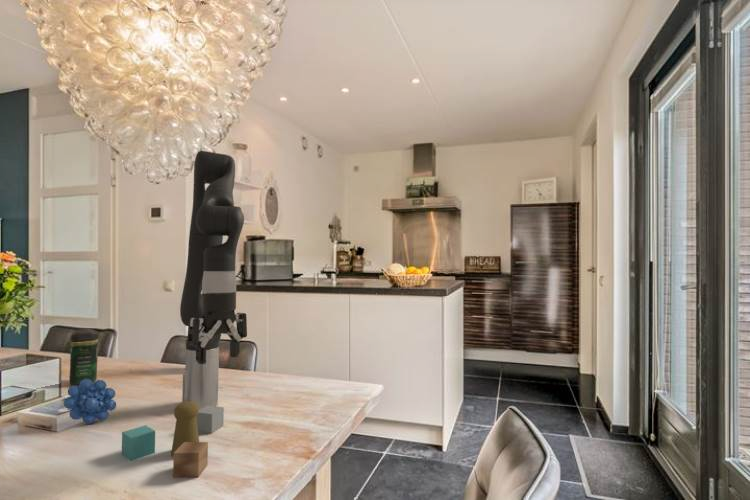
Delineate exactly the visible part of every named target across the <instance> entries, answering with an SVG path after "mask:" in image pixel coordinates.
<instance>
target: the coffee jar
mask: <svg viewBox="0 0 750 500" xmlns="http://www.w3.org/2000/svg"><path fill="white" fill-rule="evenodd" d="M98 347H99V332H98V331H97V330H95V329H93V328H83V329H82V328H81V329H78V330H76V331H74V332H73V333H72V334H71V335H70V354H69V355H70V356H69V358H70V360H69V361H70V363H69V385H71V386H79V384H80V382H81V381H82V380H84V379H90V380H91V381H92V382H93V384H94V382H96V381H97V380H98V379H97V376H98V374H97V373H98V354H99V353H98V351H99V348H98ZM79 387H80V386H79Z"/></svg>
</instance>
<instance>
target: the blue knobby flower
mask: <svg viewBox="0 0 750 500" xmlns="http://www.w3.org/2000/svg"><path fill="white" fill-rule="evenodd" d="M116 393H117V392H116V391H115V390H114V389H113V388H112V387H111V388H110V387H107V383H106V381H104V380H101V379H96V381H95V382H94V383H93V382H92V381H91V380H90V379H84V380H82V381H81V382H80V384H79V386H78V385H71V386H70V387H69V388H68V390H67V395H68V397H67V398H65V399H64V401H63V406H64V407H65V408H66V409H67V410H70V411H69V417H70V418H71V419H72V420H80V419H81V420H82V422H83V423H84V424H86V425H91V424H93V423H94V422H96V419H97V420H98V421H105V420H107V419H108V418H109V412H111V411H113V410H115V409H116V408H117V401H115V400H114V399H113V398H115V397H116Z"/></svg>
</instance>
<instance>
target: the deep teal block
mask: <svg viewBox="0 0 750 500" xmlns="http://www.w3.org/2000/svg"><path fill="white" fill-rule="evenodd" d="M155 453H156V430H154V429H152V428H151V427H150V426H148V425H141V426H138V427H136V428H132V429H128V430H125V431H121V455H122V456H124V457H125V458H126V459H127V460H129V461H130V462H133V461H135V460H138V459H141V458H144V457H146V456H149V455H153V454H155Z"/></svg>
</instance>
